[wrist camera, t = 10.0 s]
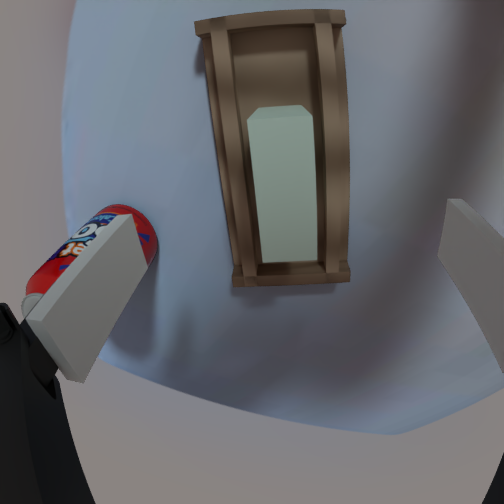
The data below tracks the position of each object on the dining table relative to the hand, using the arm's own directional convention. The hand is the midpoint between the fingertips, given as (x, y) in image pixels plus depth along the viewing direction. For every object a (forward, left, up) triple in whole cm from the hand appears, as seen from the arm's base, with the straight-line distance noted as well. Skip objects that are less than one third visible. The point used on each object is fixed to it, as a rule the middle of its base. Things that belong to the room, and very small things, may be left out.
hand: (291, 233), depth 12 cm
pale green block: (+1, 0, -15) cm, 15 cm away
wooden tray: (0, 0, -16) cm, 16 cm away
